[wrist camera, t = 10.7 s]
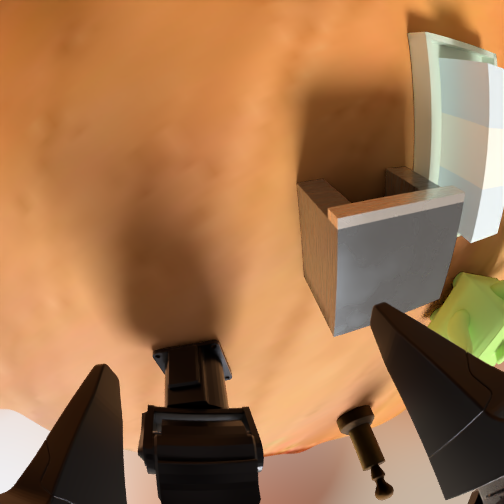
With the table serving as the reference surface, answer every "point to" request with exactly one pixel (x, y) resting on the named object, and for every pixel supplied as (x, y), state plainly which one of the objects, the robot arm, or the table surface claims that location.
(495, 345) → the kettle
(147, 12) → the table surface
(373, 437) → the dark turned peg
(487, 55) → the dish
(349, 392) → the table surface
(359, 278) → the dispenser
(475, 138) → the white square column
